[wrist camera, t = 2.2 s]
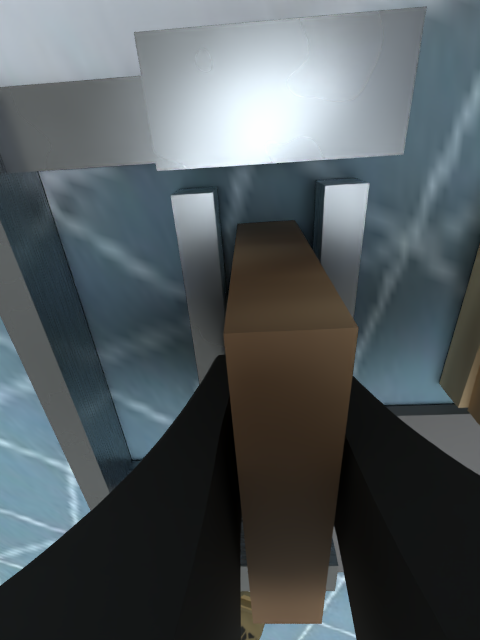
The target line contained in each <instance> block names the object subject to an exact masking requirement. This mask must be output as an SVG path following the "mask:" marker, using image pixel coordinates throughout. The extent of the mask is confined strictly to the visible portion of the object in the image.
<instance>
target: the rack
mask: <svg viewBox="0 0 480 640" xmlns="http://www.w3.org/2000/svg"><path fill="white" fill-rule="evenodd" d="M426 8H427V7H415V8H404V9H393V10H381V11H370V12H359V13H347V14H336V15H325V16H313V17H302V18H291V19H279V20H268V21H256V22H245V23H234V24H222V25H211V26H200V27H188V28H177V29H166V30H154V31H143V32H134V36H135V42H136V48H137V54H138V60H139V66H140V72H141V76H133V77H121V78H108V79H96V80H84V81H71V82H59V83H47V84H35V85H22V86H10V87H0V316H1V318H2V320H3V323H4V325H5V327H6V329H7V331H8V333H9V336H10V338H11V340H12V342H13V344H14V346H15V348H16V351H17V353H18V355H19V357H20V359H21V361H22V364H23V366H24V368H25V370H26V372H27V374H28V376H29V379H30V381H31V383H32V385H33V387H34V389H35V392H36V394H37V396H38V398H39V400H40V402H41V405H42V407H43V409H44V411H45V413H46V415H47V417H48V420H49V422H50V424H51V426H52V428H53V430H54V433H55V435H56V437H57V439H58V441H59V443H60V445H61V448H62V450H63V452H64V454H65V456H66V458H67V461H68V463H69V465H70V467H71V469H72V471H73V473H74V476H75V478H76V480H77V482H78V484H79V486H80V489H81V491H82V493H83V495H84V497H85V499H86V501H87V504H88V506H89V508H90V510H92V509H94V508H95V507H96V506H97V505H98V504H99V503H100V502H101V501H102V500H103V499H104V498H105V497H106V496H107V495H108V494H109V493H110V492H111V491H112V490H113V489H114V488H115V487H116V486H117V485H118V484H119V483H120V482H121V481H122V480H123V479H124V478H125V477H126V476H127V475H128V474H129V473H130V472H131V471H132V470H133V469H134V468H135V467H136V466H137V465H138V464H139V463H140V461H132V460H131V457H130V454H129V451H128V448H127V445H126V442H125V439H124V436H123V433H122V430H121V426H120V423H119V420H118V417H117V414H116V411H115V408H114V405H113V402H112V399H111V396H110V393H109V390H108V387H107V383H106V380H105V377H104V374H103V371H102V368H101V365H100V362H99V359H98V356H97V353H96V350H95V347H94V343H93V340H92V337H91V334H90V331H89V328H88V325H87V322H86V319H85V316H84V313H83V310H82V307H81V304H80V300H79V297H78V294H77V291H76V288H75V285H74V282H73V279H72V276H71V273H70V270H69V267H68V264H67V261H66V257H65V254H64V251H63V248H62V245H61V242H60V239H59V236H58V233H57V230H56V227H55V224H54V221H53V218H52V214H51V211H50V208H49V205H48V202H47V199H46V196H45V193H44V190H43V187H42V184H41V181H40V178H39V175H38V171H49V170H63V169H78V168H93V167H108V166H122V165H137V164H152V163H156V168H157V171H164V170H179V169H194V168H209V167H224V166H239V165H254V164H269V163H284V162H299V161H314V160H330V159H345V158H360V157H375V156H390V155H403V154H404V147H405V141H406V135H407V128H408V122H409V116H410V109H411V103H412V97H413V90H414V84H415V77H416V71H417V65H418V58H419V52H420V46H421V39H422V33H423V27H424V20H425V14H426ZM368 191H369V183H368V182H365V181H362V180H359V179H356V178H345V179H329V180H316V188H315V210H314V232H313V252H314V253H315V255H316V257H317V258H318V260H319V262H320V263H321V265H322V267H323V269H324V270H325V272H326V274H327V275H328V277H329V279H330V280H331V282H332V284H333V285H334V287H335V289H336V291H337V292H338V294H339V296H340V297H341V299H342V301H343V302H344V304H345V306H346V307H347V309H348V311H349V313H350V314H351V316H352V318H353V319H354V310H355V302H356V293H357V285H358V276H359V268H360V259H361V251H362V242H363V234H364V225H365V217H366V208H367V200H368ZM171 201H172V208H173V214H174V221H175V227H176V234H177V240H178V247H179V253H180V260H181V266H182V273H183V279H184V286H185V292H186V299H187V305H188V312H189V318H190V325H191V331H192V338H193V345H194V351H195V358H196V364H197V371H198V377H199V384H200V383H201V382H202V380H203V378H204V377H205V375H206V374H207V372H208V370H209V368H210V367H211V365H212V363H213V361H214V359H215V358H216V357H217V356H218V355H225V345H224V335H223V333H224V325H225V317H226V310H227V292H226V281H225V270H224V258H223V247H222V236H221V224H220V213H219V202H218V190H217V187H203V188H187V189H179V190H178V191H176V192H175V193H173V194H172V195H171ZM240 545H241V591H250V588H249V578H248V568H247V559H246V549H245V539H244V529H243V520H242V521H241V544H240ZM338 567H339V565H338V561H337V556H336V551H335V547H334V542H333V537H332V544H331V552H330V560H329V568H328V576H327V584H326V591H335V586H336V579H337V573H338Z"/></svg>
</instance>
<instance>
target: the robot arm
mask: <svg viewBox="0 0 480 640" xmlns="http://www.w3.org/2000/svg"><path fill="white" fill-rule="evenodd" d="M241 521H242V510H241V500H240V491H239V481H238V471H237V461H236V452H235V442H234V432H233V422H232V413H231V403H230V393H229V384H228V374H227V364H226V354H225V355H218V356H217V357H216V358H215V359H214V361H213V363H212V365H211V367H210V368H209V370H208V372H207V374H206V375H205V377H204V378H203V380H202V382H201V383H200V385H199V386H198V388H197V389H196V391H195V392H194V394H193V395H192V397H191V398H190V400H189V401H188V403H187V404H186V406H185V407H184V409H183V410H182V411H181V413H180V414H179V415H178V417H177V418H176V419H175V421H174V422H173V423H172V425H171V426H170V427H169V428H168V430H167V431H166V432H165V434H164V435H163V436H162V437H161V438H160V440H159V441H158V442H157V443H156V445H155V446H154V447H153V448H152V449H151V450H150V451H149V453H148V454H147V455H146V456H145V457H144V458H143V459H142V460H141V461H140V463H139V464H138V465H137V466H136V467H135V468H134V469H133V470H132V471H131V472H130V473H129V474H128V475H127V476H126V477H125V478H124V479H123V480H122V481H121V482H120V483H119V484H118V485H117V486H116V487H115V488H114V489H113V490H112V491H111V492H110V493H109V494H108V495H107V496H106V497H105V498H104V499H103V500H102V501H101V502H100V503H99V504H98V505H97V506H96V507H95V508H94V509H92V510H91V511H90V512H89V513H88V514H87V515H86V516H85V517H83V518H82V519H81V520H80V521H79V522H78V523H77V524H75V525H74V526H73V527H72V528H71V529H70V530H69V531H67V532H66V533H65V534H64V535H63V536H62V537H61V538H59V539H58V540H57V541H56V542H55V543H53V544H52V545H51V546H50V547H49V548H47V549H46V550H45V551H44V552H43V553H41V554H40V555H39V556H38V557H37V558H35V559H34V560H33V561H32V562H30V563H29V564H28V565H27V566H25V567H24V568H23V569H22V570H20V571H19V572H18V573H16V574H15V575H14V576H12V577H11V578H10V579H8V580H7V581H6V582H5V583H3V584H2V585H1V586H0V640H241V545H240V544H241ZM334 527H335V531H336V536H337V540H338V545H339V550H340V555H341V560H342V565H343V570H344V575H345V581H346V586H347V591H348V596H349V602H350V607H351V612H352V617H353V623H354V628H355V633H356V639H357V640H480V475H478V474H477V473H475V472H474V471H472V470H470V469H469V468H467V467H466V466H464V465H463V464H461V463H460V462H458V461H457V460H455V459H454V458H452V457H451V456H449V455H448V454H446V453H445V452H444V451H442V450H441V449H439V448H438V447H437V446H435V445H434V444H433V443H431V442H430V441H428V440H427V439H426V438H424V437H423V436H421V435H420V434H419V433H417V432H416V431H415V430H414V429H412V428H411V427H410V426H409V425H407V424H406V423H405V422H404V421H402V420H401V419H400V418H399V417H398V416H396V415H395V414H394V413H393V412H392V411H390V410H389V409H388V408H387V407H386V406H385V405H383V404H382V403H381V402H380V401H379V400H378V399H377V398H376V397H375V396H373V395H372V394H371V393H370V392H369V391H368V390H367V389H366V388H365V387H364V386H363V385H362V384H361V383H360V382H359V381H358V380H357V379H356V378H355V377H354V376H352V384H351V392H350V400H349V408H348V416H347V424H346V432H345V440H344V448H343V456H342V464H341V472H340V480H339V488H338V496H337V504H336V512H335V520H334Z"/></svg>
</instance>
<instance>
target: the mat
mask: <svg viewBox="0 0 480 640" xmlns="http://www.w3.org/2000/svg"><path fill="white" fill-rule="evenodd" d="M386 407H387V408H388V409H389V410H390V411H392V412H393V413H394V414H395V415H396V416H398V417H399V418H400V419H401V420H402V421H404V422H405V423H406V424H407V425H409V426H410V427H411V428H412V429H414V430H415V431H416V432H417V433H419V434H420V435H421V436H423V437H424V438H426V439H427V440H428V441H430V442H431V443H433V444H434V445H435V446H437V447H438V448H439V449H441V450H442V451H444V452H445V453H446V454H448V455H449V456H451V457H452V458H454V459H455V460H457V461H458V462H460V463H461V464H463V465H464V466H466V467H467V468H469V469H470V470H472V471H474V472H475V473H477V474H478V475H480V425H479V424H478V423H477V422H476V420H475V419H474V418H473V417H472V415H471V414H470V413H469V412H468V411H467V410H468V408H458V407H457V406H456V404H448V405H414V406H386ZM332 537H333V542H334V547H335V551H336V556H337V561H338V565H339V567H338V572H344V570H343V565H342V560H341V555H340V550H339V545H338V540H337V536H336V531H335V527H334V528H333V536H332Z"/></svg>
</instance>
